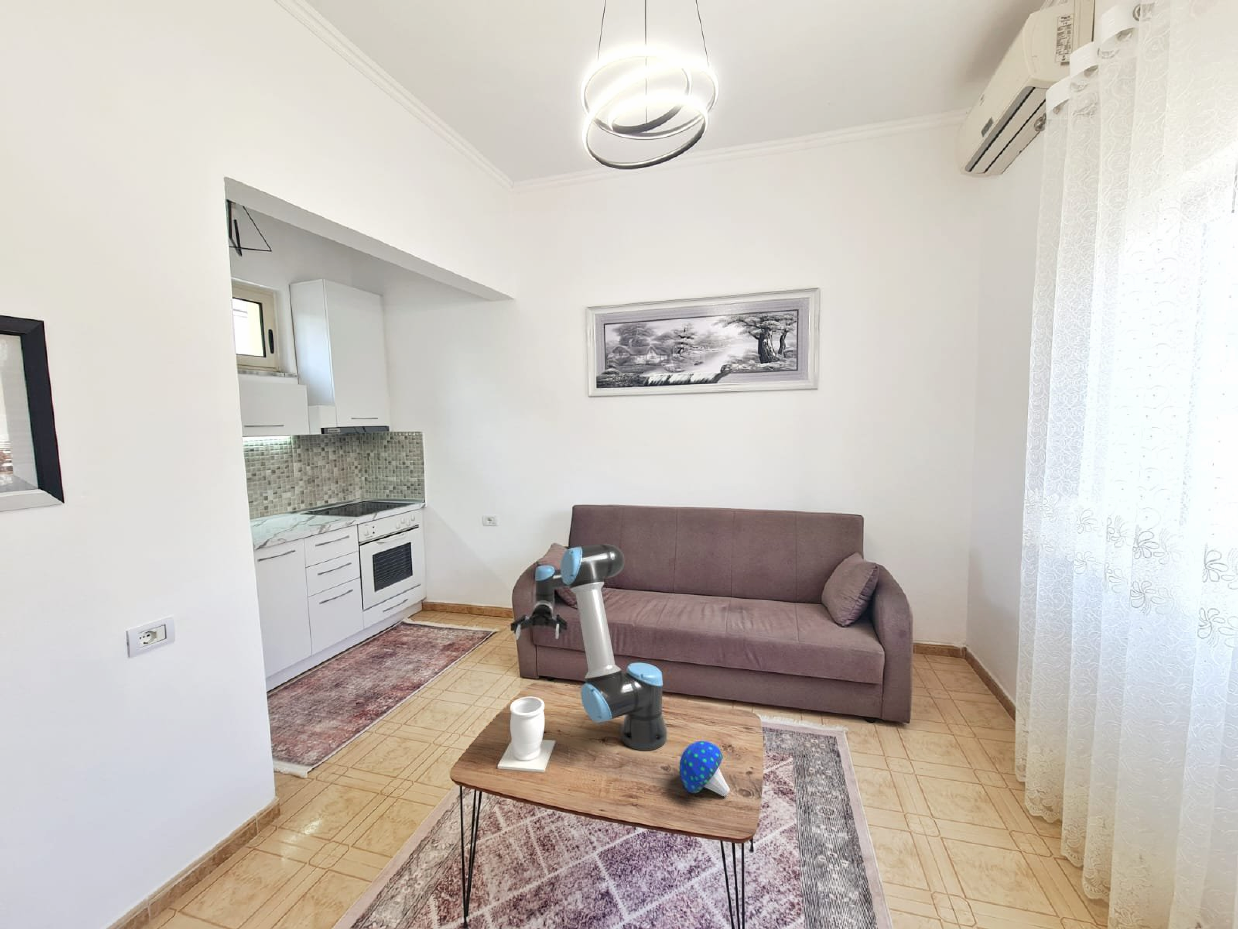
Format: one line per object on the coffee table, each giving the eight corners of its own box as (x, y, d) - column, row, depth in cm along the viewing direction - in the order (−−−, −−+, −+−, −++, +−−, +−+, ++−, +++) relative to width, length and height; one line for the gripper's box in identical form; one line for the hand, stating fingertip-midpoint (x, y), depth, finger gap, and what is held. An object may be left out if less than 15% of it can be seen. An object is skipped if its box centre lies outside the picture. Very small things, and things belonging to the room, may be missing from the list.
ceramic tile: (555, 743, 157) (555, 740, 157) (543, 772, 143) (543, 770, 143) (513, 739, 159) (513, 737, 159) (497, 768, 145) (497, 766, 145)
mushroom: (743, 786, 127) (698, 740, 132) (708, 826, 128) (664, 779, 133) (744, 763, 141) (703, 722, 145) (712, 799, 142) (673, 758, 146)
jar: (537, 766, 145) (537, 716, 144) (504, 761, 147) (504, 712, 146) (549, 744, 155) (549, 698, 155) (518, 740, 157) (518, 694, 157)
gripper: (574, 622, 191) (573, 645, 170) (509, 623, 189) (500, 646, 168) (574, 603, 190) (573, 624, 169) (509, 604, 189) (500, 625, 168)
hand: (536, 635), depth 168 cm, fingers open, 13 cm apart
